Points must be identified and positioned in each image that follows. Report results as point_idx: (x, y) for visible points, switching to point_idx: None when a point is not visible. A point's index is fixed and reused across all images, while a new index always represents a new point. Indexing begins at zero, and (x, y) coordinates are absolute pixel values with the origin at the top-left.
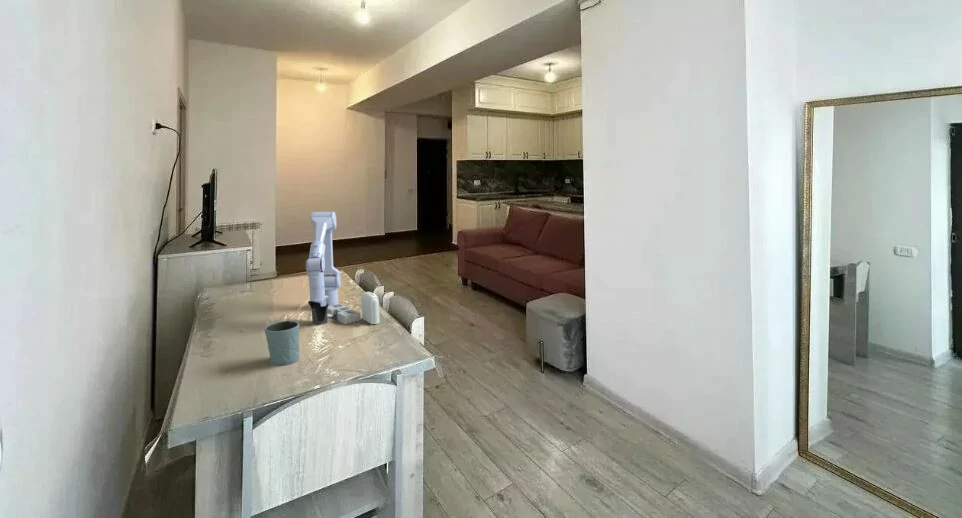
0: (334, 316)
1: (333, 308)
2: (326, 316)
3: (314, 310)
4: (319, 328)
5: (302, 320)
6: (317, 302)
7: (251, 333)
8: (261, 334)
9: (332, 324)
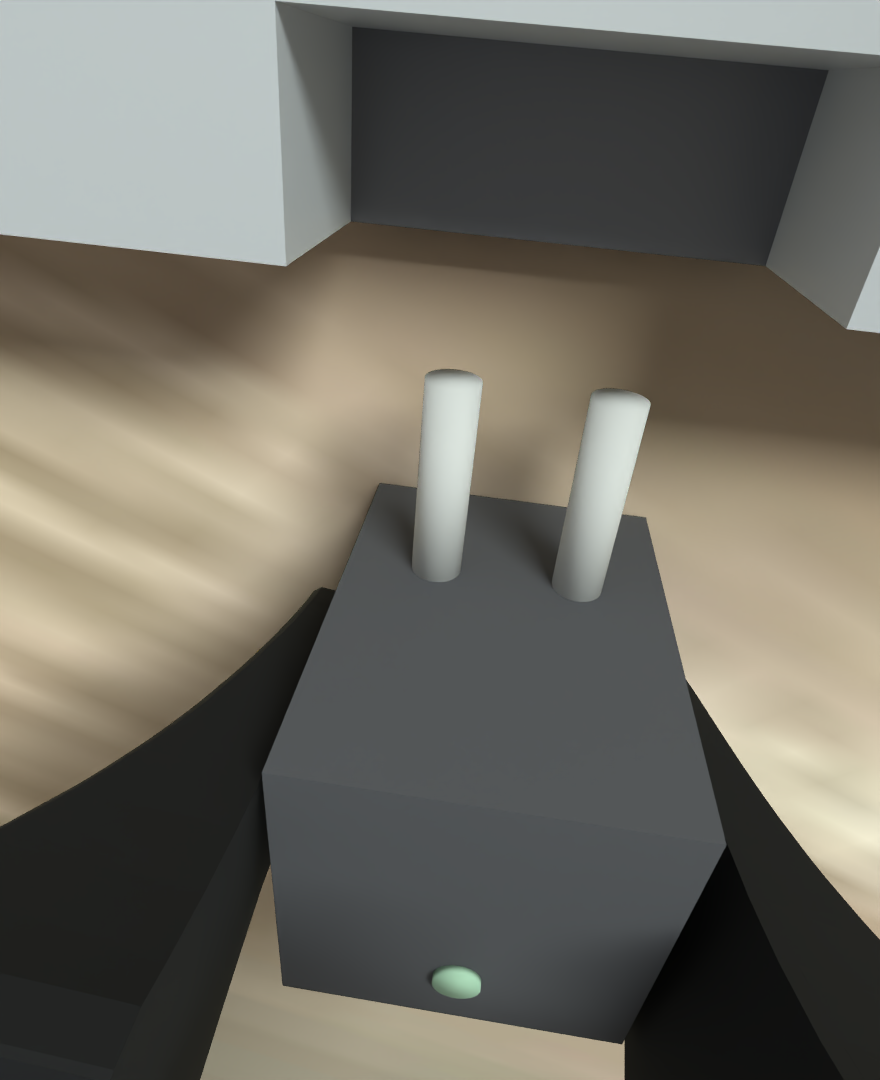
0: (458, 181)
1: (119, 41)
2: (666, 647)
3: (485, 1005)
4: (778, 763)
5: (117, 686)
6: (167, 1073)
7: (252, 1068)
8: (349, 1061)
9: (849, 516)
